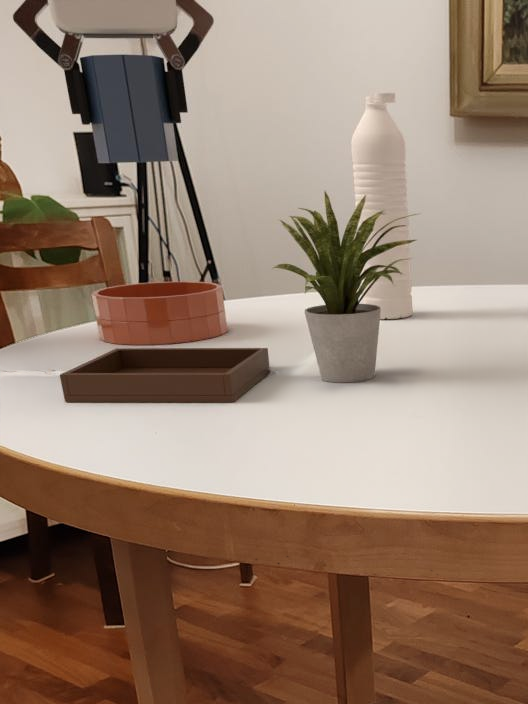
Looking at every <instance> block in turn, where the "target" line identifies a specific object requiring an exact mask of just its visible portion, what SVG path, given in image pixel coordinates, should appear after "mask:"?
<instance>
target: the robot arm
mask: <svg viewBox="0 0 528 704" xmlns="http://www.w3.org/2000/svg"><path fill="white" fill-rule="evenodd" d="M47 8H49V12H50V15H51V16H50V17H51V19H52V21H53V23H54V25H55V27H56V28H57V29H58V30H59V31H60V32H61V33H63V34H64V36H63V40H62V43H61V46H60V45H59V44H58V43H57V42H55V41H54V40H53V39H52V38H51V37H50V36H49V34H47V33H46V32H45V31H44V29H42V28H41V26H39V24H38V18H39V16H40V15H41V14H42V13H43V12H44V11H45V10H46V9H47ZM177 8H178V9H179V10H181V11H182V12H183V13H184V14H185V15H186V16H187V17H189V18H190V20H192V27H191V29H190V30H189V32H188V33H187V35H186V36H185V38H183V40H182V42H181V43H180V44H179V46H177V45H176V43H175V41H174V39H173V38H172V34H174V33H175V31H176V29H177V27H178V9H177ZM12 20H13V22H14V23H15V25H16V26H18V28H19V29H21V31H23V33H25V35H26V36H27V37H28V38H29V39H30V40H31V41H32V42H33V43H34V44H35V45H36V46H37V47H38V48H39V49H40V50H41V51H43V53H45V54H46V55H47V56H48V57H49V58H50V59H51V60H52V61H53V62H54V63H55V64H57V65H58V67H60V68H61V69H62V70H63V73H64V78H65V84H66V89H67V94H68V100H69V105H70V109H71V114H72V115H80V120H81V125H83V126H88V125H89V126H90V125H91V119H90V113H89V107H88V101H87V96H86V90H85V84H84V79H83V73H82V71H81V65H80V63H79V62H78V61H79V59H80V54H81V50H82V47H83V44H84V40H85V39H153V40H154V42H155V43H156V45H157V47H158V48H159V50H160V52H161V53H162V55H163V56H164V57H163V58H164V59H165V60H166V63H165V64H166V65H165V66H166V71H165V73H166V80H167V87H168V94H169V101H170V108H171V115H172V121H173V123H174V124H181V123H182V119H181V113H182V114H184V113H186V114H187V113H189V112H188V110H189V109H188V103H187V102H188V101H187V96H186V87H185V81H184V74H183V70H184V68H185V67H186V66H187V65H188V64H189V62H190V60H191V59H192V58H193V56H194V55H195V53H196V52H197V51H198V49H200V46H201V45H202V44H203V42H204V41H205V39H206V37H207V35H208V34H209V32H210V30H211V29H212V27H213V25H214V23H215V19H214V16H213V14H211V13H210V12H209V11H207V9H205V8H204V7H203V6H202V5H201V4H200V3H199V2H197V1H196V0H24V1H23V2H22V3H21V4H20V5H19V7H18V8H17V9H16V10H15V12H13V14H12Z"/></svg>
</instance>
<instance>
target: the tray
mask: <svg viewBox="0 0 528 704" xmlns="http://www.w3.org/2000/svg"><path fill="white" fill-rule="evenodd" d="M269 374H271V369H270V359H269V349H268V347H168V348H167V347H159V348H158V347H152V348H151V347H149V348H148V347H145V348H144V347H143V348H142V347H140V348H139V347H137V348H135V347H133V348H129V347H128V348H127V347H126V348H125V347H124V348H123V347H122V348H121V347H120V348H118V347H117V348H114V349H112V350H110V351H107V352H105V353H103V354H101V355H99V356H97V357H95V358H92V359H90V360H88V361H86V362H84V363H82V364H79V365H78V366H75V367H73V368H71V369H69V370H67V371H64V372H62V373H60V374H59V381H60V385H61V390H62V394H63V400H64V402H65V403H234V402H236V400H238V399H239V398H240V397H242V396H243V395H244V394H245V393H247V392H248V391H249V390H251V389H252V388H253V387H255V386H256V385H257V384H258V383H259V382H260V381H262V380H263V379H265V378H266V377H267V376H268V375H269Z"/></svg>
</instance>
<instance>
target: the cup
mask: <svg viewBox="0 0 528 704" xmlns="http://www.w3.org/2000/svg"><path fill="white" fill-rule="evenodd" d="M79 62H80V69H81V72H82V73H83V79H84V84H85V90H86V96H87V101H88V107H89V113H90V119H91V123H90V125H91V129H92V130H91V131H92V137H93V141H94V146H95V153H96V158H97V163H98V164H121V163H123V164H124V163H158V162H159V163H160V162H161V163H162V162H165V163H166V162H179V157H178V150H177V142H176V135H175V128H174V122H173V121H172V115H171V108H170V101H169V94H168V87H167V80H166V73H165V72H166V65H165V57H161V56H155V55H151V54H150V55H149V54H148V55H146V54H94V55H86V56H82V57H79Z"/></svg>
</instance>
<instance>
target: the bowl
mask: <svg viewBox="0 0 528 704" xmlns="http://www.w3.org/2000/svg"><path fill="white" fill-rule="evenodd" d="M91 298H92V305H93V308H94V309H93V310H94V313H95V320H96V325H97V330H98V335H99V340H101V341H103V342H105V343H109V344H114V345H127V346H128V345H129V346H141V345H142V346H148V345H149V346H155V345H171V344H172V345H173V344H182V343H191V342H197V341H203V340H209V339H212V338H216V337H219V336H223V335H224V334H226V333H227V332H228V322H227V315H226V307H225V306H226V305H225V298H224V291H223V286H222V284H218V283H216V282H208V281H207V282H206V281H187V280H186V281H185V280H183V281H154V282H140V283H139V282H138V283H128V284H121V285H114V286H109V287H104V288H103V287H102V288H100V289H96V290H94V291H93V292H91Z"/></svg>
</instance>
